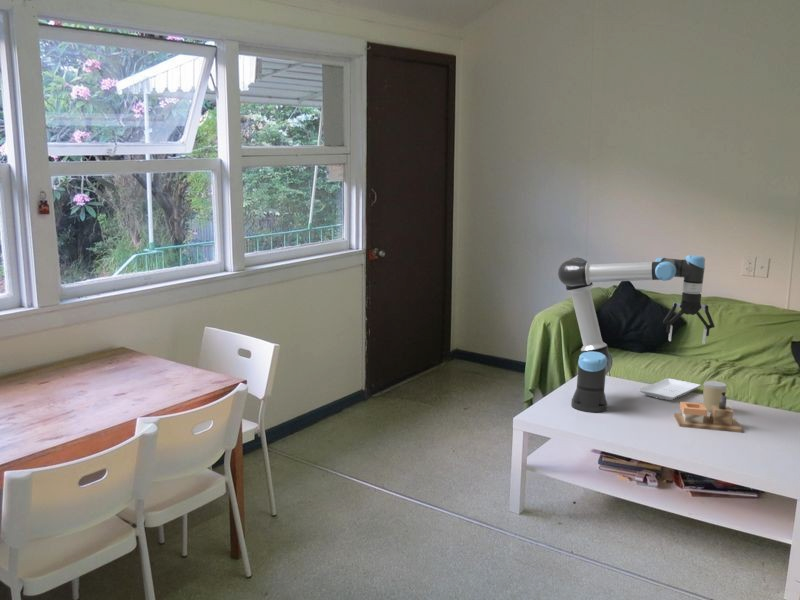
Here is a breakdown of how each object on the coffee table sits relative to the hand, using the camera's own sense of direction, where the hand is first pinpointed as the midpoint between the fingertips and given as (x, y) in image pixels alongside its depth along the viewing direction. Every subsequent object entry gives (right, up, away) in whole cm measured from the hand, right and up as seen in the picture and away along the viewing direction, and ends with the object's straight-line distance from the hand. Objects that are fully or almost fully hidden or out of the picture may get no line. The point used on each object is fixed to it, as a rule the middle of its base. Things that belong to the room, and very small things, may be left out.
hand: (686, 342), depth 310 cm
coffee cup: (+15, -30, +10) cm, 36 cm away
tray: (+5, -26, +34) cm, 43 cm away
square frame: (-1, -28, -9) cm, 29 cm away
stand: (+5, -33, -9) cm, 35 cm away
